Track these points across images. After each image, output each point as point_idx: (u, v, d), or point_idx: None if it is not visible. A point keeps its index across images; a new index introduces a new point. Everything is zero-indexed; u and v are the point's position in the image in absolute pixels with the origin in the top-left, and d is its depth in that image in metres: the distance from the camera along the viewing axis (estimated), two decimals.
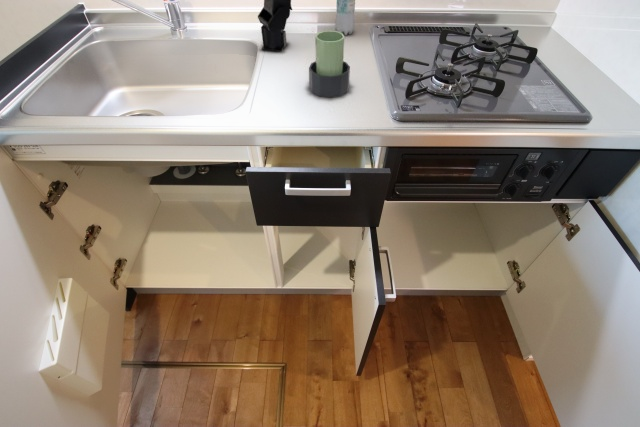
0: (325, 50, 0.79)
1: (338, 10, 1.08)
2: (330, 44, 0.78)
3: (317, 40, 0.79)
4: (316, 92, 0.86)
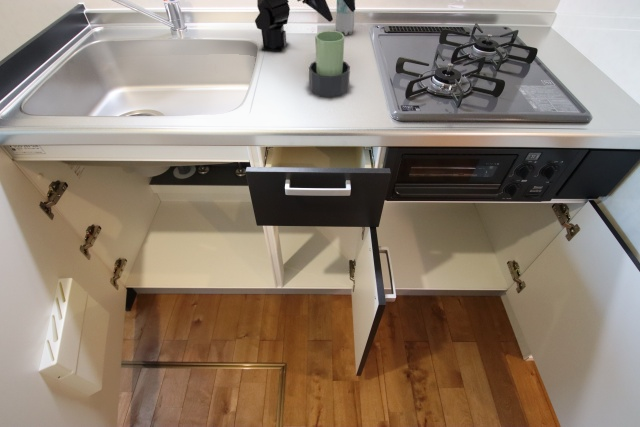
0: (325, 50, 0.79)
1: (338, 10, 1.08)
2: (330, 44, 0.78)
3: (317, 40, 0.79)
4: (316, 92, 0.86)
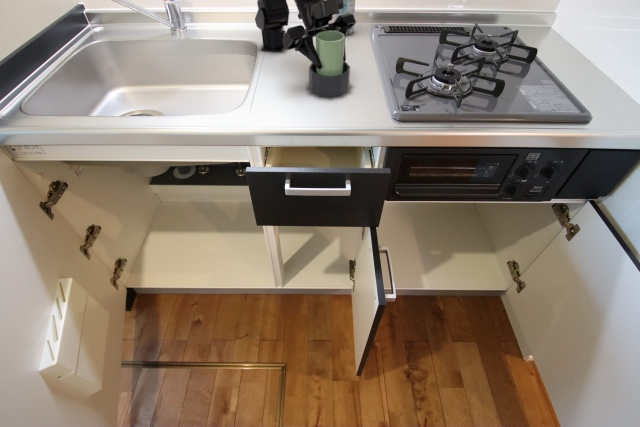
0: (325, 50, 0.79)
1: None
2: (330, 44, 0.78)
3: (317, 40, 0.79)
4: (316, 92, 0.86)
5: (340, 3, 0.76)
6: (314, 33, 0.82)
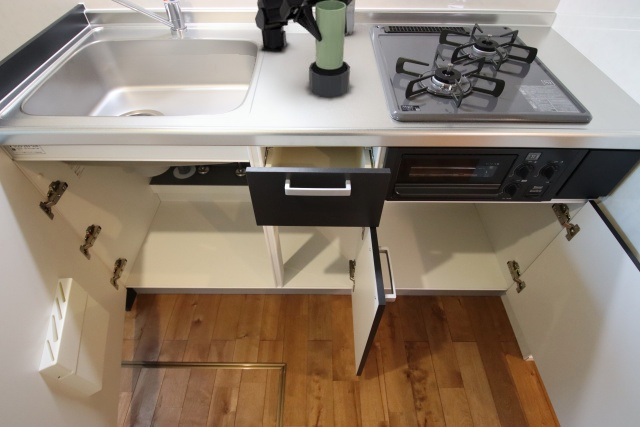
0: (325, 20, 0.74)
1: None
2: (330, 13, 0.73)
3: (317, 9, 0.74)
4: (316, 92, 0.86)
5: None
6: (313, 3, 0.77)
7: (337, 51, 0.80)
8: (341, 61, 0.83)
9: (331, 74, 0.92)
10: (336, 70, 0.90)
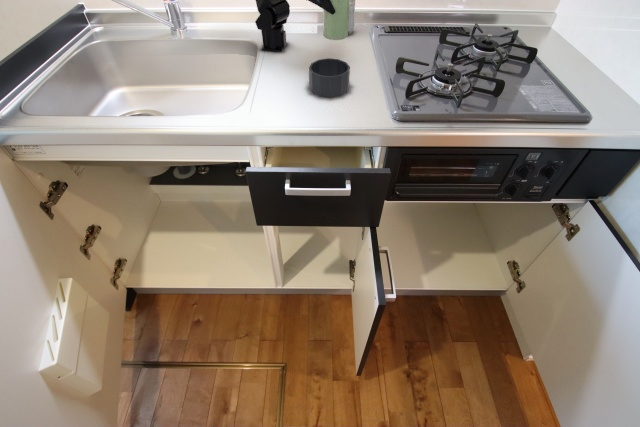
0: None
1: None
2: None
3: None
4: (316, 92, 0.86)
5: None
6: None
7: (347, 21, 0.89)
8: None
9: (331, 74, 0.92)
10: (336, 70, 0.90)
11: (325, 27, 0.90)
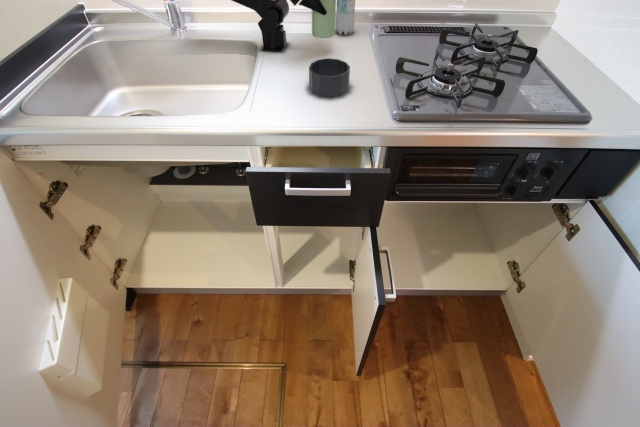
0: None
1: (338, 10, 1.08)
2: None
3: None
4: (316, 92, 0.86)
5: None
6: None
7: (334, 19, 0.97)
8: None
9: (331, 74, 0.92)
10: (336, 70, 0.90)
11: (316, 28, 0.97)
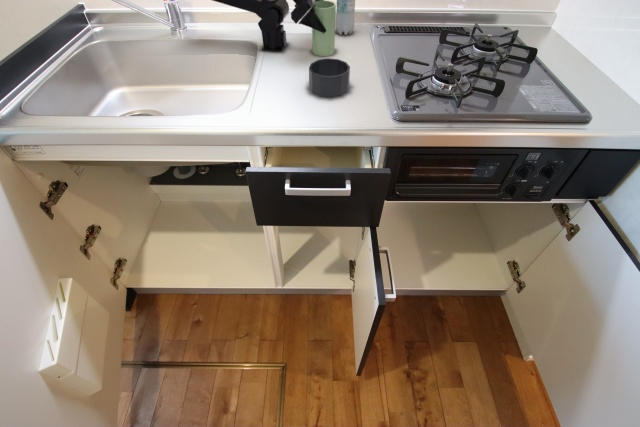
0: (328, 15, 0.94)
1: (338, 10, 1.08)
2: (332, 9, 0.94)
3: (320, 9, 0.93)
4: (316, 92, 0.86)
5: None
6: None
7: (334, 38, 1.01)
8: None
9: (331, 74, 0.92)
10: (336, 70, 0.90)
11: (316, 46, 1.01)
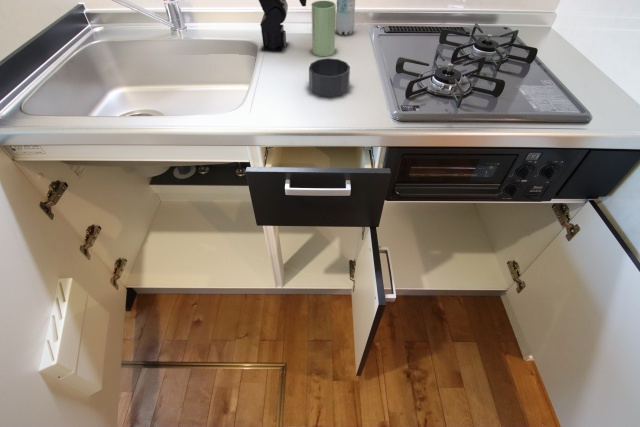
0: (328, 15, 0.94)
1: (338, 10, 1.08)
2: (332, 9, 0.94)
3: (320, 9, 0.93)
4: (316, 92, 0.86)
5: None
6: None
7: (334, 38, 1.01)
8: None
9: (331, 74, 0.92)
10: (336, 70, 0.90)
11: (316, 46, 1.01)
